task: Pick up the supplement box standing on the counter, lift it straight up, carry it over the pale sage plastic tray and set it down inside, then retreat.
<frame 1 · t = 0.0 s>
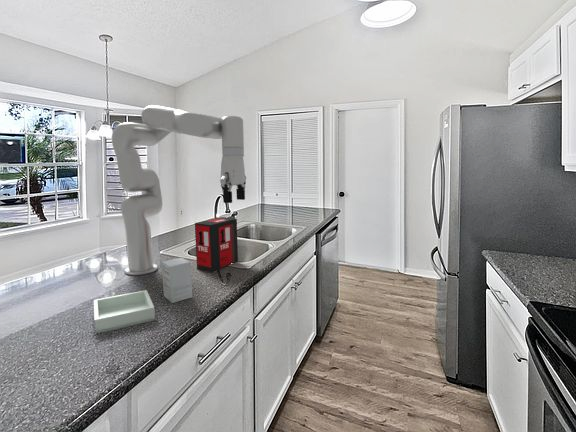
hand: (234, 201, 120), 31 cm above the table, tool pointing down, fingers open, 9 cm apart
supplement box: (178, 297, 113), on the table
cleaning product box: (218, 265, 147), on the table
tray: (124, 316, 99), on the table
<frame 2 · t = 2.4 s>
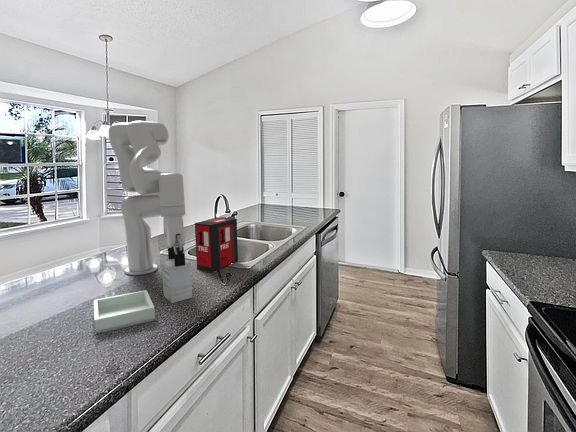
hand: (176, 262, 110), 12 cm above the table, tool pointing down, fingers open, 9 cm apart
supplement box: (178, 297, 113), on the table, touching gripper
everything else where it was.
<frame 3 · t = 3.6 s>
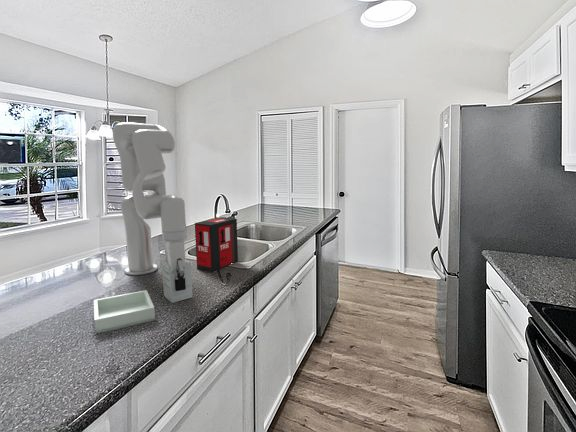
hand: (177, 285, 112), 4 cm above the table, tool pointing down, fingers closed on supplement box, 8 cm apart
supplement box: (178, 297, 113), on the table, touching gripper
everything else where it was.
when the fingers open (7 cm above the table, at t = 11.5 s): supplement box drops 2 cm, resting on tray.
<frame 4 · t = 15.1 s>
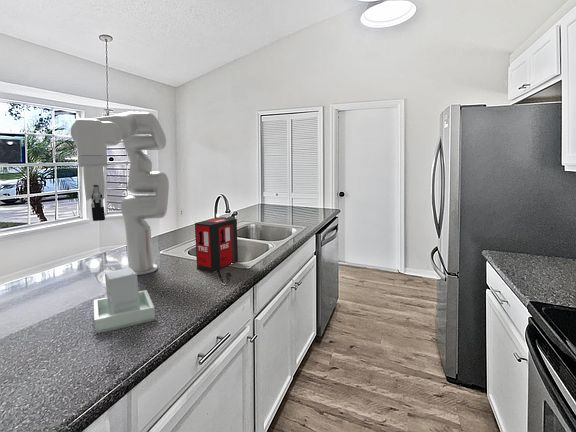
hand: (98, 218, 103), 28 cm above the table, tool pointing down, fingers open, 9 cm apart
supplement box: (124, 313, 100), point 1 cm above the table, touching tray
everything else where it was.
at the end: supplement box inside the target area on the tray (0.3 cm from its centre), point 0.6 cm above the tray's base; supplement box tilted 0°; the gripper is holding nothing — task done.
